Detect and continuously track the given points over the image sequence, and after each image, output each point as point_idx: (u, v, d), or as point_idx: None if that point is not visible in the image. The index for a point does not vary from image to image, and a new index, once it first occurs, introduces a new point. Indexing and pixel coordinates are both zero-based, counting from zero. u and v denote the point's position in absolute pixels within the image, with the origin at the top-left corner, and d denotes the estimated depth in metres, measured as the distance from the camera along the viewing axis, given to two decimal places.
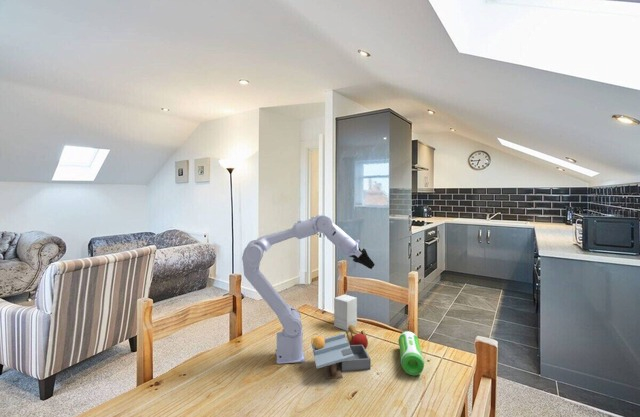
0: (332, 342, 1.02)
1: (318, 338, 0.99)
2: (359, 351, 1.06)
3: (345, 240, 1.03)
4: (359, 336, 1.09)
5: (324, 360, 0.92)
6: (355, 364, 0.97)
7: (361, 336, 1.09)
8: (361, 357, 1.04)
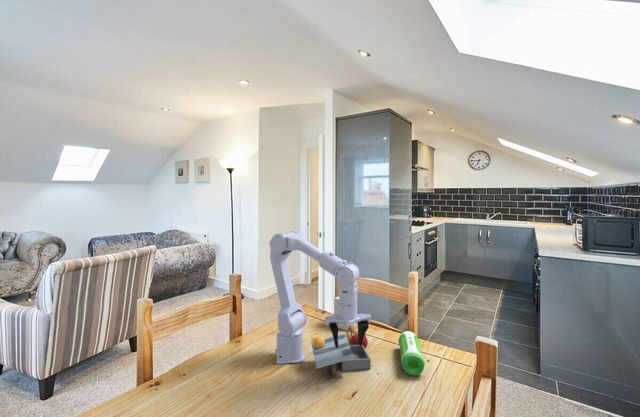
0: (332, 342, 1.02)
1: (318, 338, 0.99)
2: (359, 351, 1.06)
3: (340, 305, 0.93)
4: None
5: (324, 360, 0.92)
6: (355, 364, 0.97)
7: None
8: (361, 357, 1.04)
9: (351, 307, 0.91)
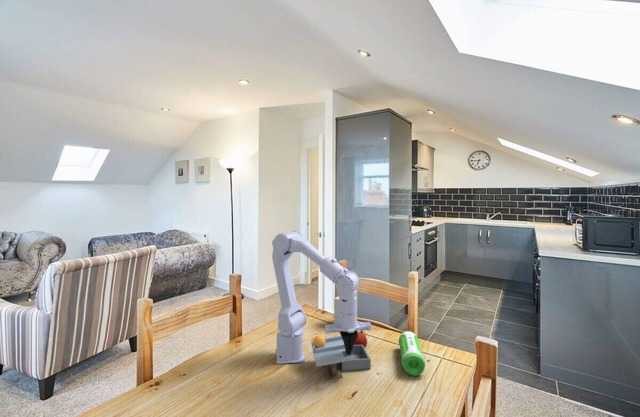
0: (332, 342, 1.02)
1: (319, 337, 0.99)
2: (359, 351, 1.06)
3: (340, 313, 0.93)
4: (358, 335, 1.09)
5: (324, 359, 0.92)
6: (355, 364, 0.97)
7: (360, 335, 1.09)
8: (361, 357, 1.04)
9: (351, 316, 0.91)
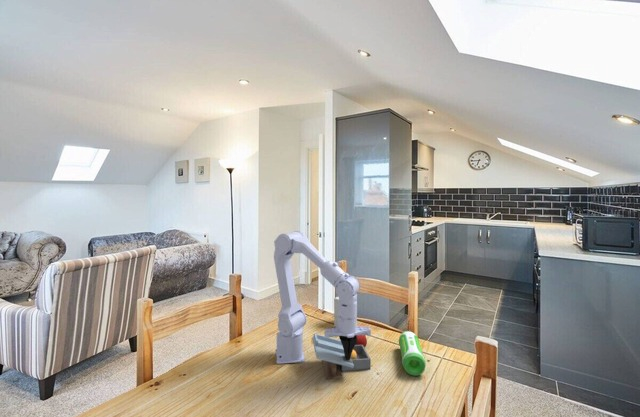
0: (333, 344, 1.02)
1: None
2: (359, 351, 1.06)
3: (339, 318, 0.93)
4: (358, 335, 1.09)
5: (325, 355, 0.92)
6: (355, 364, 0.97)
7: (360, 335, 1.09)
8: (361, 357, 1.04)
9: (351, 321, 0.91)
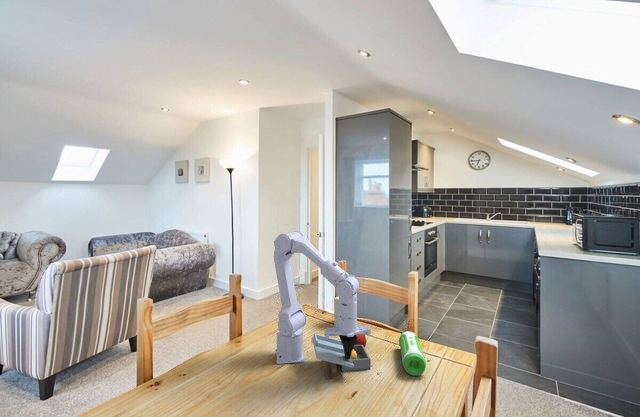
0: (333, 344, 1.02)
1: None
2: (359, 351, 1.06)
3: (339, 317, 0.93)
4: (358, 335, 1.09)
5: (325, 355, 0.92)
6: (355, 364, 0.97)
7: (360, 335, 1.09)
8: (361, 357, 1.04)
9: (351, 320, 0.91)
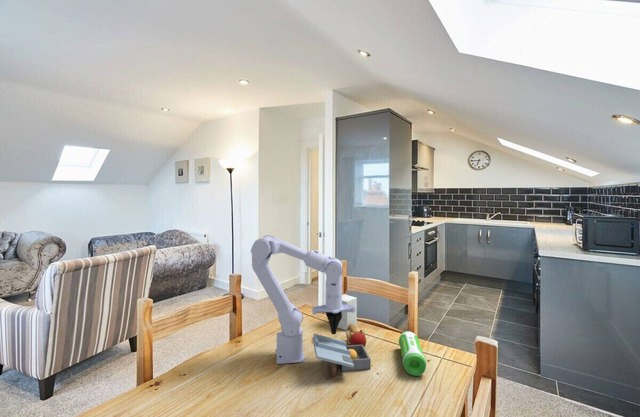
0: (333, 344, 1.02)
1: None
2: (359, 351, 1.06)
3: (326, 296, 1.01)
4: (357, 335, 1.10)
5: (325, 355, 0.92)
6: (355, 364, 0.97)
7: (359, 335, 1.10)
8: (361, 357, 1.04)
9: (336, 298, 1.00)
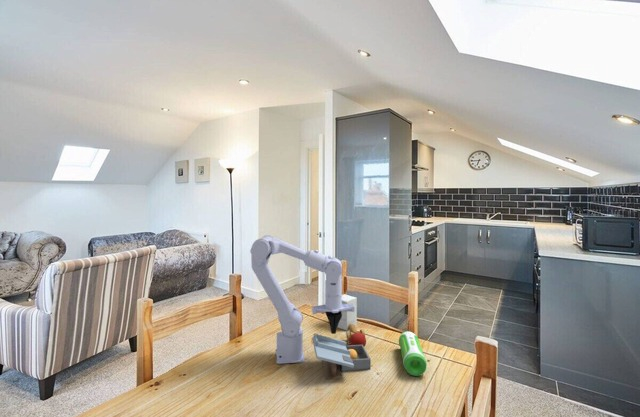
0: (333, 344, 1.02)
1: None
2: (359, 351, 1.06)
3: (325, 296, 1.02)
4: (357, 335, 1.10)
5: (325, 355, 0.92)
6: (355, 364, 0.97)
7: (359, 335, 1.10)
8: (361, 357, 1.04)
9: (336, 298, 1.00)
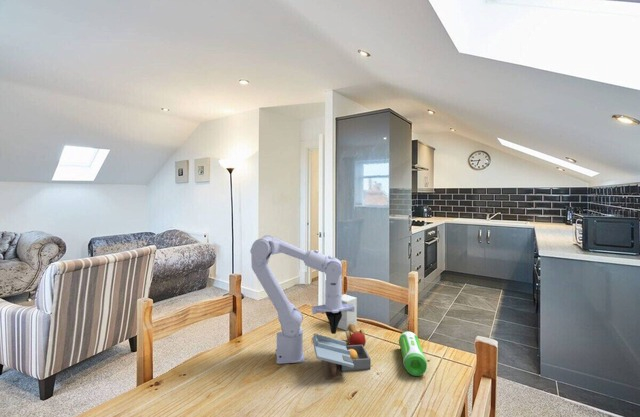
0: (333, 344, 1.02)
1: None
2: (359, 351, 1.06)
3: (325, 296, 1.02)
4: (357, 335, 1.10)
5: (325, 355, 0.92)
6: (355, 364, 0.97)
7: (359, 335, 1.10)
8: (361, 357, 1.04)
9: (336, 298, 1.00)
